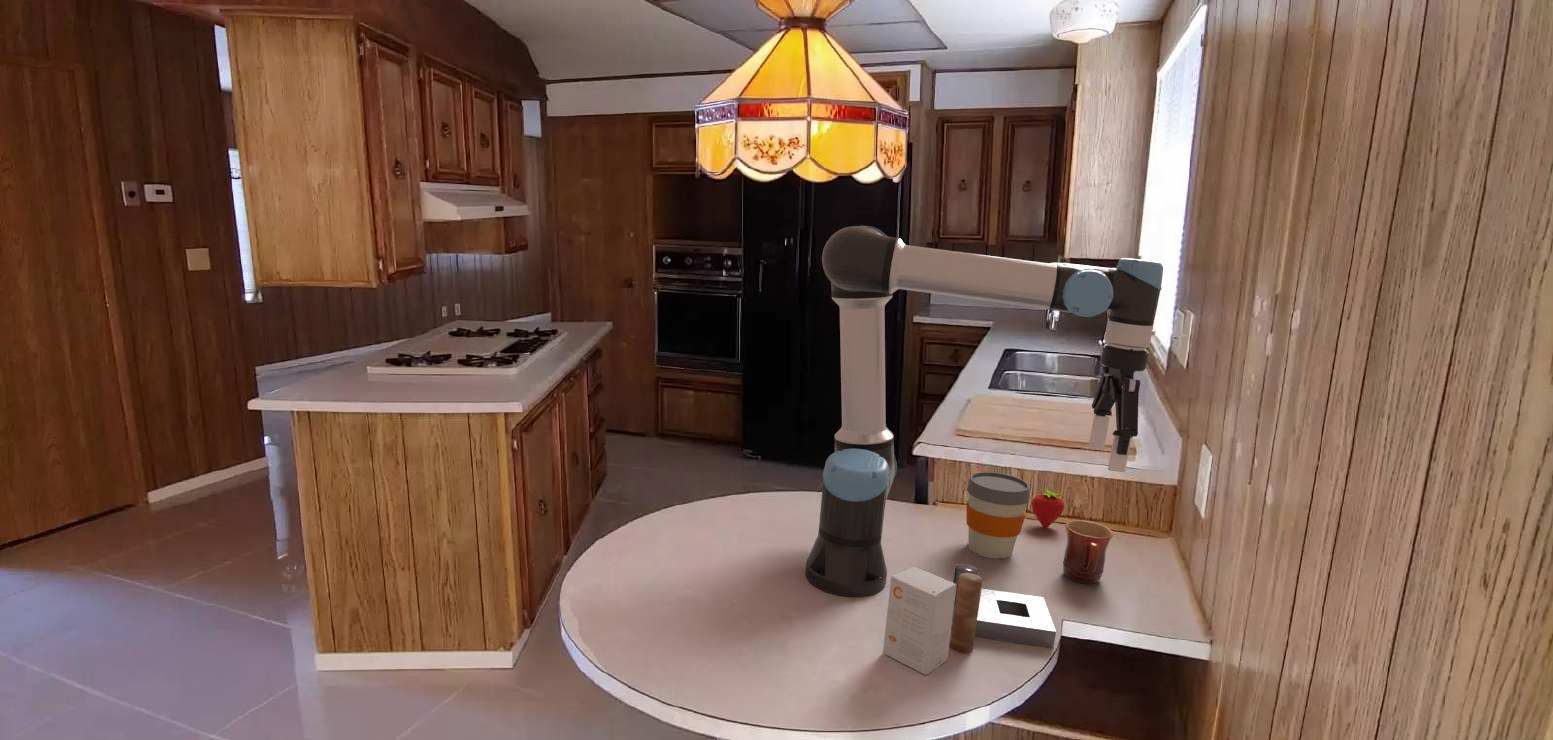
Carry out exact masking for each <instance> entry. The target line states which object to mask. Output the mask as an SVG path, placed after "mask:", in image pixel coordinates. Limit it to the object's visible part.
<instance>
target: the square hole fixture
mask: <svg viewBox="0 0 1553 740" xmlns="http://www.w3.org/2000/svg"><path fill="white" fill-rule="evenodd" d="M979 572H980V570H979V569H978V568H977V567H976V566H974V565H972V564H967V563H958V564H955V566H954V571H953V579H952V582H953V583H955V584H957V585H956V593H955V601H954V610H953V617H952V625H953V620H954V613H955V605H956V598H957V590H958V583H959V576H960V574H962V573H972V574H976V575H978V576H979ZM1056 634H1057V631H1056V628H1055V624H1054V623H1053V620H1052V617H1051V614H1050V612H1049V609H1048V607H1047V604H1046V600H1045V598H1044V596H1043V597H1042V596H1037V595H1036V596H1035V595H1030V594H1022V593H1015V592H1009V591H1008V592H1007V591H1001V590H993V589H986V588H982V589H981V596H980V603H979V611H978V618H977V625H976V632H975V638H981V639H988V640H994V641H995V640H996V641H1002V642H1008V643H1015V644H1021V645H1027V646H1028V645H1029V646H1034V647H1035V646H1036V647H1041V648H1047V649H1054V646H1055V641H1056Z"/></svg>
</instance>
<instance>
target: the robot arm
mask: <svg viewBox="0 0 1553 740" xmlns="http://www.w3.org/2000/svg"><path fill="white" fill-rule="evenodd" d="M822 251H823V252H822V254H821V255H822V256H821V263H822V268H823V270H824V274H825V276H826V278H827V279H828V280H829V281H830V282H831V283H830V285H831V299H832V301H834V303H835V304H837V306H839V330H840V331H839V332H840V333H839V334H840V337H839V339H840V378H841V379H840V383H841V385H840V386H841V390H840V391H841V428H840V429H839V430H838V431H837V432H835V434H834V452H833V453H831V454H830V455H829V456H828V458H826V461H825V465H824V468H823V472H822V480H823V481H822V491H821V492H822V494H821V502H820V512H819V522H818V534H817V537H816V539H815V540H814V544H813V545H812V548H811V550H810V552H809V554H808V556H807V559H806V562H805V572H804V573H805V577H806V579H807V581H808V582H809V583H811V584H812V585H813V586H815V587H816V588H818V589H820V590H822V591H824V592H827V593H830V594H834V595H839V596H846V597H864V596H870V595H873V594H877V593H878V592H881V591H882V590H884V589H885V587H886V583H887V578H888V577H887V575H888V568H887V565H886V561H885V555H884V550H883V547H882V535H883V527H884V520H885V519H884V517H885V516H884V515H885V510H886V503H887V498H888V496H889V493H890V490H891V487H892V485H893V483H894V481H895V477H896V476H897V470H898V466H897V465H898V463H897V460H896V455H895V454H894V453H895V448H894V444H895V443H894V434H893V432H892V431H891V430H889V428H888V427H887V423H886V420H887V419H886V416H887V415H886V341H885V340H886V337H885V335H886V333H885V332H886V329H885V327H886V326H885V322H886V321H885V307H886V305H887V303H888V302H889V301H890V300H891V299H893V294H894V293H895V292H896V291H898V290H905V291H912V292H919V293H920V292H921V293H926V294H927V293H928V294H934V295H943V296H949V297H956V298H963V299H970V300H971V299H972V300H978V301H986V302H992V303H1000V304H1001V303H1002V304H1006V305H1007V304H1008V305H1014V306H1015V305H1016V306H1023V307H1029V308H1036V309H1043V310H1050V311H1056V312H1061V313H1062V312H1064V313H1068V314H1073V315H1075V316H1077V317H1086V318H1091V317H1095V316H1098V315H1101V314H1102V313H1103V312H1105V311H1109V315H1108V318H1107V322H1106V329H1105V334H1104V341H1105V342H1106V343H1107V344H1106V343H1105V344H1104V345H1103V347H1102V353H1101V358H1100V363H1101V365H1102V366H1103V367H1102V368H1103V369H1102V375H1101V377H1100V381H1099V384H1098V387H1097V389H1096V392H1095V395H1094V398H1093V401H1092V404H1091V408H1092V409H1093V420H1092V425H1091V430H1090V431H1091V432H1090V437H1089V443H1088V449H1090V450H1091V449H1092V450H1098V451H1100V450H1101V451H1105V446H1106V442H1107V441H1106V440H1107V437H1108V430H1109V424H1110V417H1112V416H1113V415H1112V414H1113V412H1112V408H1113V406H1115V421H1116V422H1115V426H1116V430H1114V431H1112V436H1113V440H1112V444H1111V451H1110V456H1109V462H1108V466H1107V470H1108V471H1110V472H1117V473H1126V469H1127V464H1128V458H1129V453H1130V449H1131V442H1132V438H1133V437H1137V436H1138V434H1139V395H1140V394H1139V393H1140V387H1141V380H1140V379H1134V377H1135V375H1134V374H1135V373H1136V372H1144V371H1146V368H1147V364H1148V363H1147V362H1148V358H1149V354H1150V352H1149V351H1148V350H1147V349H1148V348H1149V347H1150V345H1151V341H1152V336H1155V334H1156V331H1155V330H1154V324H1155V318H1156V314H1157V309H1158V305H1159V304H1158V303H1159V299H1160V296H1161V295H1160V294H1161V291H1162V282H1163V275H1164V274H1163V273H1164V266H1163V265H1162V264H1161V262H1160V261H1156V260H1149V259H1139V258H1128V257H1122V258H1120V259H1119V260H1118V263H1117V265H1116V267H1103V266H1102V267H1101V266H1093V265H1085V264H1075V263H1069V262H1051V263H1050V262H1049V263H1048V262H1040V261H1031V260H1023V259H1018V258H1017V259H1016V258H1015V259H1014V258H1010V257H1009V258H1008V257H1000V256H993V255H992V256H991V255H986V254H979V253H978V254H977V253H972V252H971V253H970V252H963V251H954V250H947V249H939V248H931V247H924V246H923V247H922V246H916V245H908V244H906V243H904V242H903V240H902V239H901V238H899V237H892V236H887V235H886V234H885V233H884V232H883V231H882V230H881V229H878V228H876V227H875V226H874V227H873V226H870V225H863V224H862V225H853V226H846V227H843V228H842V229H841V228H840V229H839V230H838V231H836V232H835V233H833V234H832V235H831V236H830V237H829V239H828V240H827V241H826V243H825V245H824V247H823V250H822ZM1109 416H1110V417H1109Z"/></svg>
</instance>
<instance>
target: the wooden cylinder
mask: <svg viewBox="0 0 1553 740" xmlns="http://www.w3.org/2000/svg"><path fill="white" fill-rule="evenodd" d="M983 581H984V580H983V578H982V577H981V576H979V574H978V575H976V574H972V573H962V574H960V576H959V583H958V590H957V598H956V605H955V613H954V620H953V624H952V627H951V634H950V642H949V648H951V650H953V651H954V652H957V653H960V654H970V653H972V652H973V651H974V646H975V645H974V644H975V639H976V637H975V632H976V625H977V618H978V611H979V603H980V596H981V589H983V588H982V587H983Z"/></svg>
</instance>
